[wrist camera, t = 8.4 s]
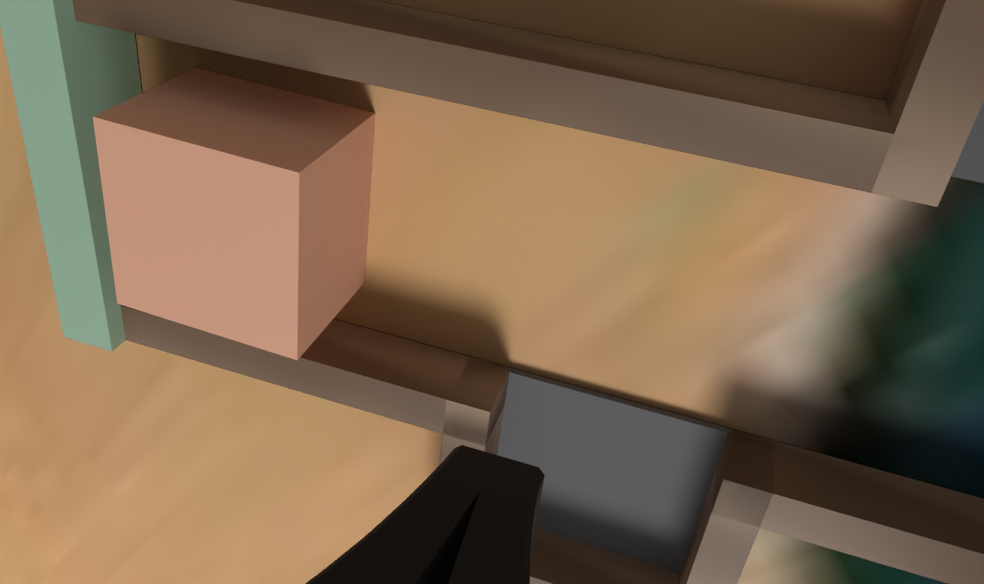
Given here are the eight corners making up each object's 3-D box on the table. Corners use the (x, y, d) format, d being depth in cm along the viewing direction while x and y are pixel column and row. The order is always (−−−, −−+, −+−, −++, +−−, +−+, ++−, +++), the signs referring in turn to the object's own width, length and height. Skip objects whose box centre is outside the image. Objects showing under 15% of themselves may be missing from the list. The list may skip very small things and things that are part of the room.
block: (366, 280, 24) (297, 360, 21) (207, 234, 25) (117, 303, 21) (377, 111, 21) (298, 172, 18) (198, 65, 22) (93, 116, 19)
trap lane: (1096, 728, 24) (1126, 822, 22) (143, 426, 30) (92, 476, 28) (1843, -116, 12) (2067, -94, 10) (25, -340, 18) (-78, -355, 16)
